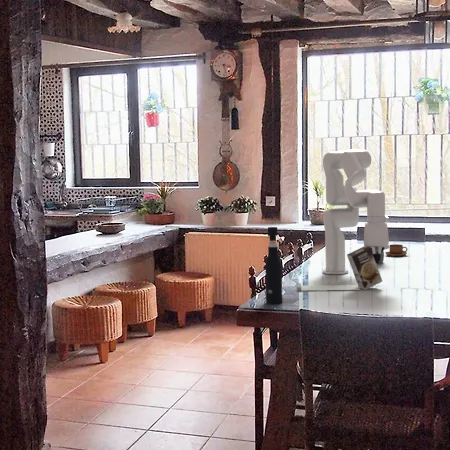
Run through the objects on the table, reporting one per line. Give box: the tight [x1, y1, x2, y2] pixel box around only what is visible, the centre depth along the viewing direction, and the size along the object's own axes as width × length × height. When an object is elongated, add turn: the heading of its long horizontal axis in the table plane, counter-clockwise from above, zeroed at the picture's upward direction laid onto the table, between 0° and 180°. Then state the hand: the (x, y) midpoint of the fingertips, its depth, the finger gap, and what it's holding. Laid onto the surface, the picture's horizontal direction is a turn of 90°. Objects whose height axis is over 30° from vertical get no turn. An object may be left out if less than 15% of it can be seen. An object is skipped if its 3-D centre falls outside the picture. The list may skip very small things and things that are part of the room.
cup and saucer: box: [384, 243, 409, 257], centre depth 393 cm, size 12×12×6 cm
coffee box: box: [346, 246, 383, 291], centre depth 298 cm, size 9×6×16 cm
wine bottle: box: [264, 226, 283, 305], centre depth 276 cm, size 6×6×30 cm
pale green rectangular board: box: [297, 282, 361, 292], centre depth 302 cm, size 10×26×2 cm, turn 85°
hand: (376, 262), depth 299 cm, fingers closed
